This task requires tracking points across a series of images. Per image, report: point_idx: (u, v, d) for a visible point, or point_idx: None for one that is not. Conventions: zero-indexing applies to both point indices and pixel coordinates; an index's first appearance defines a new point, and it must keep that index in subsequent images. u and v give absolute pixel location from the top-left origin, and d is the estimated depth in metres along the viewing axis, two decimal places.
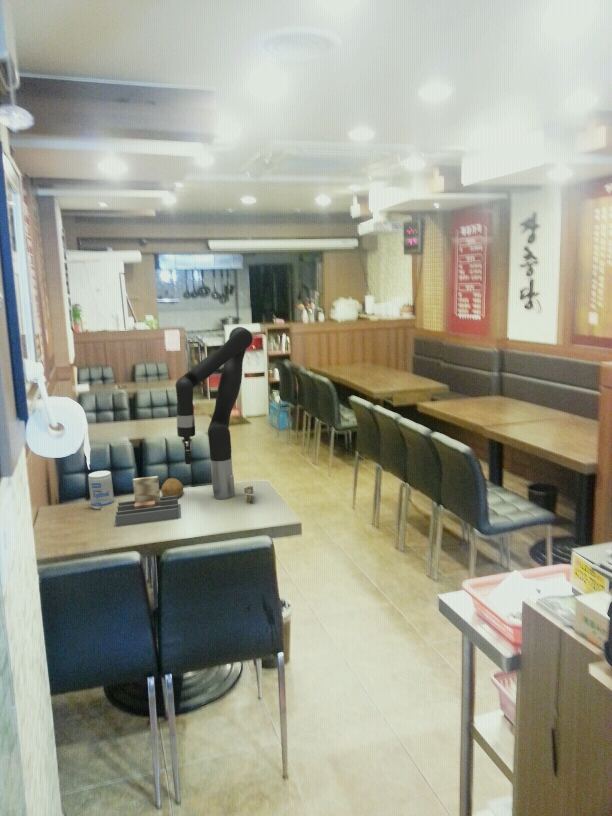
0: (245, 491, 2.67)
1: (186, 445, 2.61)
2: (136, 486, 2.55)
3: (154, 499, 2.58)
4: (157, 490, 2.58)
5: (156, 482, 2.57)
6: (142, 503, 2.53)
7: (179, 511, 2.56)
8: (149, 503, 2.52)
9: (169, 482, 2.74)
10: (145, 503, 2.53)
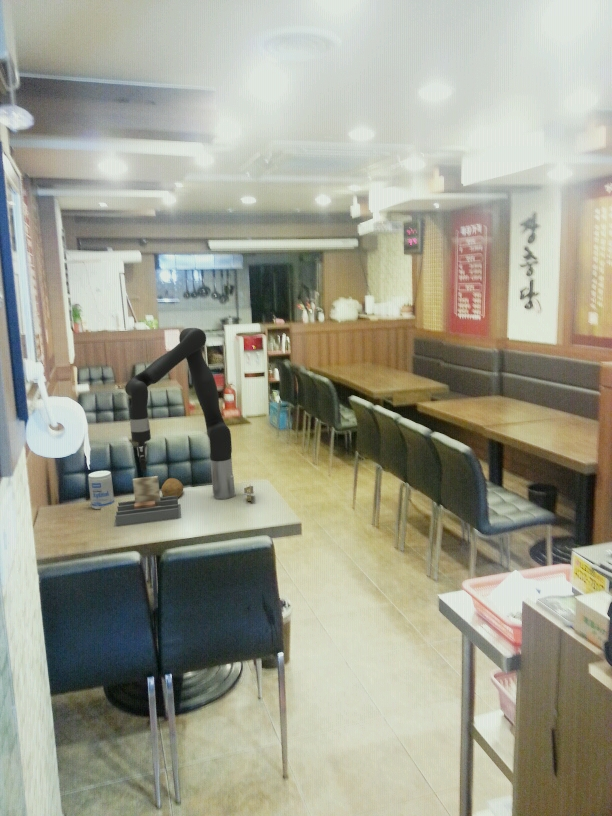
0: (245, 491, 2.67)
1: (140, 450, 2.47)
2: (136, 486, 2.55)
3: (154, 499, 2.58)
4: (157, 490, 2.58)
5: (156, 482, 2.57)
6: (142, 503, 2.53)
7: (179, 511, 2.56)
8: (149, 503, 2.52)
9: (169, 482, 2.74)
10: (145, 503, 2.53)
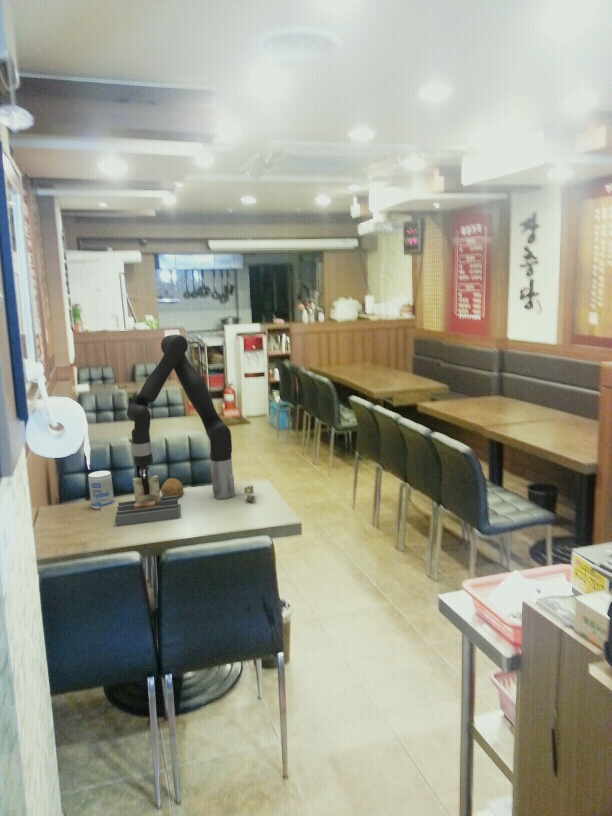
0: (245, 491, 2.67)
1: (143, 478, 2.51)
2: (136, 486, 2.55)
3: (154, 499, 2.58)
4: (157, 490, 2.58)
5: (156, 482, 2.57)
6: (142, 503, 2.53)
7: (179, 511, 2.56)
8: (149, 503, 2.52)
9: (169, 482, 2.74)
10: (145, 503, 2.53)
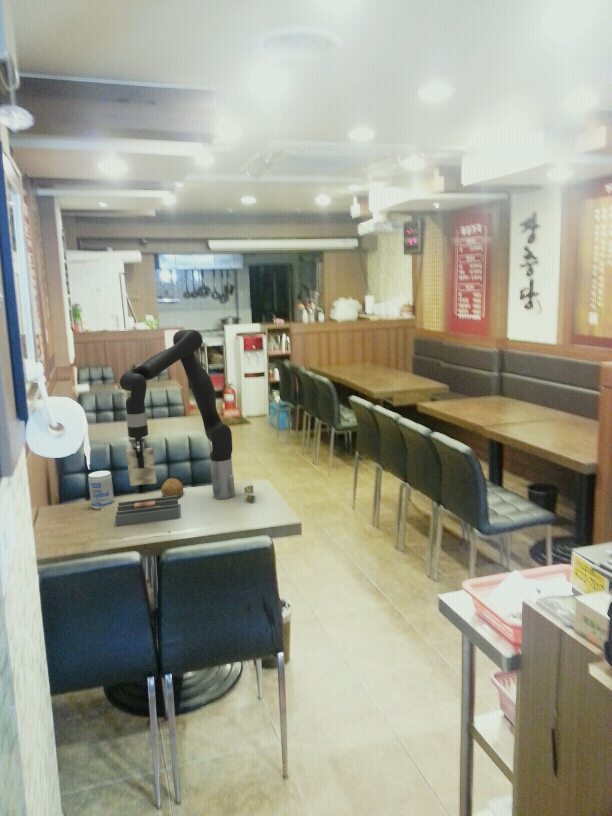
0: (245, 490, 2.68)
1: (137, 450, 2.38)
2: (130, 458, 2.43)
3: (149, 472, 2.45)
4: (152, 462, 2.45)
5: (151, 454, 2.44)
6: (142, 503, 2.53)
7: (179, 511, 2.56)
8: (149, 503, 2.52)
9: (169, 482, 2.74)
10: (145, 503, 2.53)
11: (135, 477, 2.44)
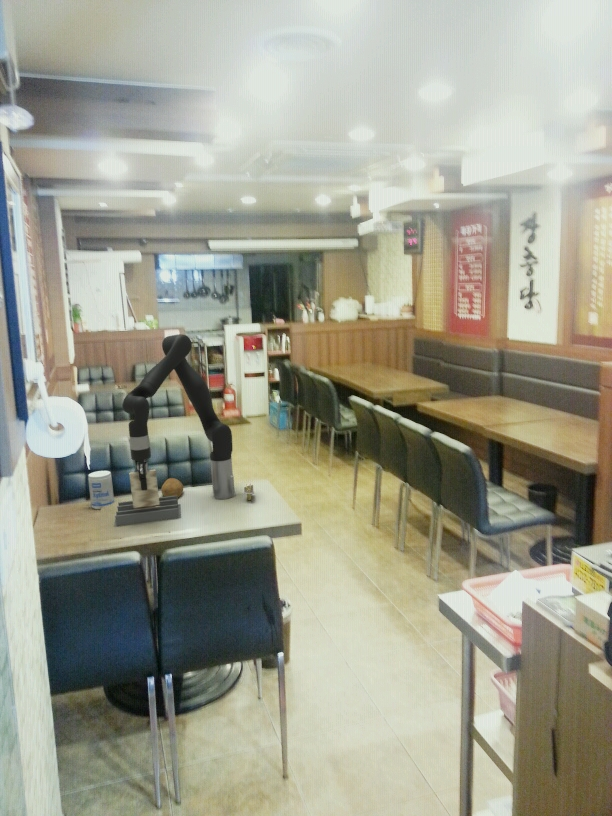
0: (245, 490, 2.68)
1: (140, 473, 2.39)
2: (133, 480, 2.44)
3: (152, 494, 2.46)
4: (155, 484, 2.46)
5: (154, 476, 2.45)
6: None
7: (179, 511, 2.56)
8: None
9: (169, 482, 2.74)
10: None
11: (138, 499, 2.46)
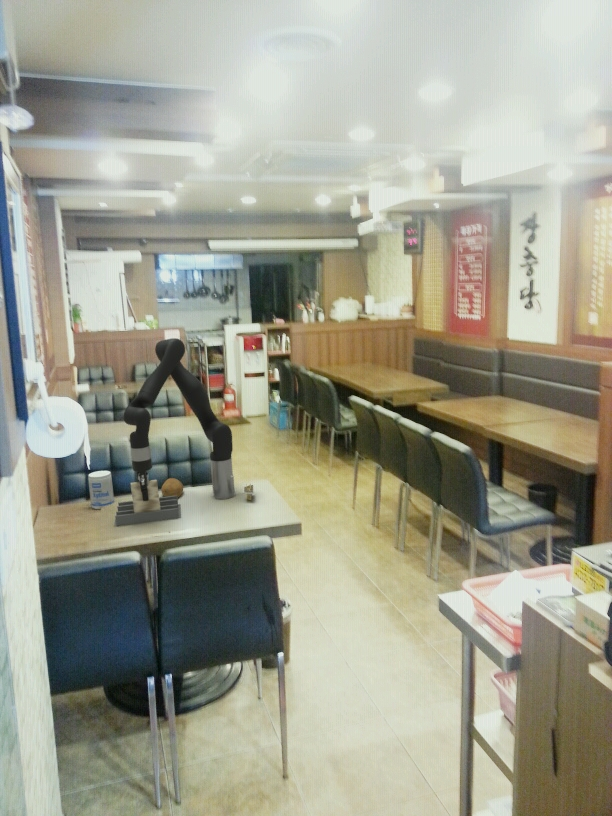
0: (245, 490, 2.69)
1: (141, 484, 2.40)
2: (134, 490, 2.45)
3: (153, 504, 2.47)
4: (156, 494, 2.47)
5: (155, 486, 2.46)
6: None
7: (179, 511, 2.56)
8: None
9: (169, 482, 2.74)
10: None
11: (140, 509, 2.46)
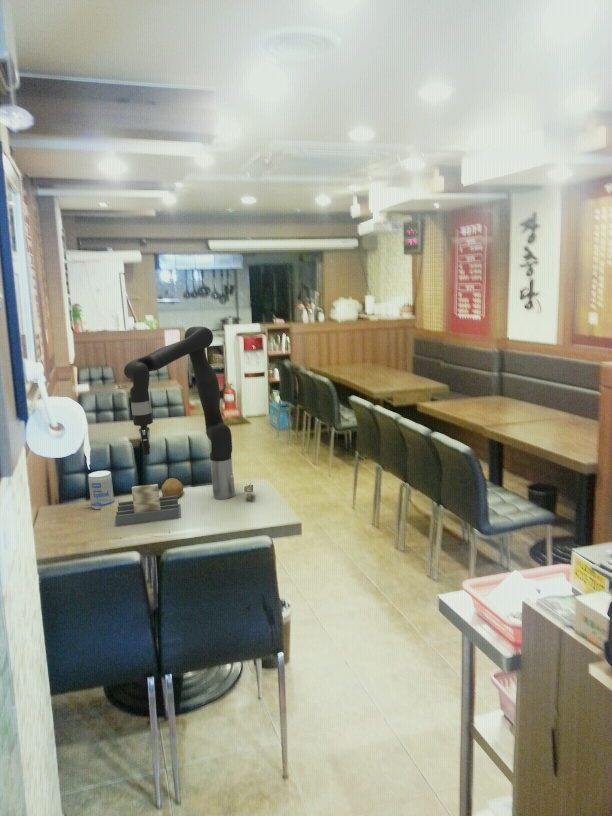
0: (245, 489, 2.69)
1: (142, 434, 2.41)
2: (135, 494, 2.45)
3: (154, 508, 2.48)
4: (157, 499, 2.47)
5: (156, 490, 2.46)
6: None
7: (179, 511, 2.56)
8: None
9: (169, 482, 2.74)
10: None
11: None
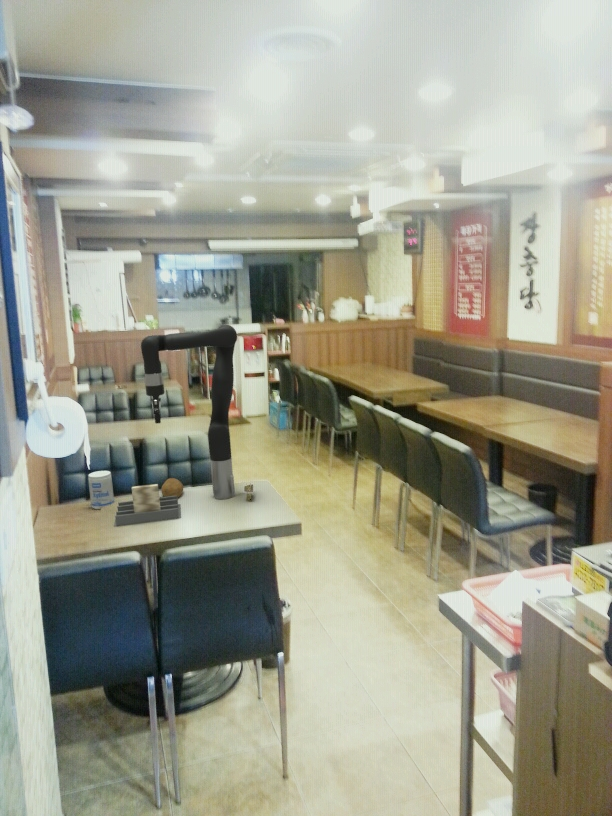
0: (245, 489, 2.69)
1: (154, 403, 2.57)
2: (135, 494, 2.45)
3: (154, 508, 2.48)
4: (157, 499, 2.47)
5: (156, 490, 2.46)
6: None
7: (179, 511, 2.56)
8: None
9: (169, 482, 2.74)
10: None
11: None
